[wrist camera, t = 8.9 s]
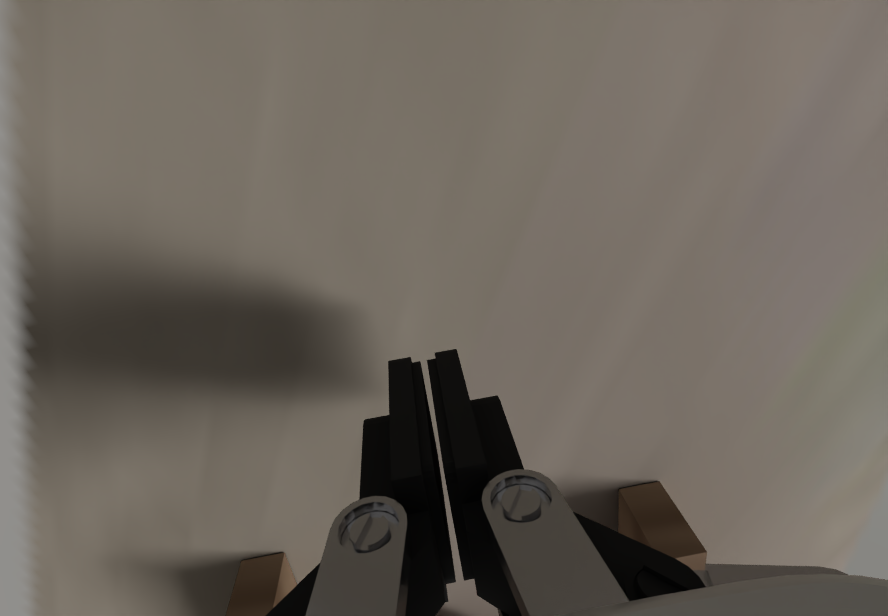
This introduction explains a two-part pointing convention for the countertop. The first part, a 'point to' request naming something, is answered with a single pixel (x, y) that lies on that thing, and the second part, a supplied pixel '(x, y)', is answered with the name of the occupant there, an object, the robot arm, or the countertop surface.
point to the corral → (639, 518)
